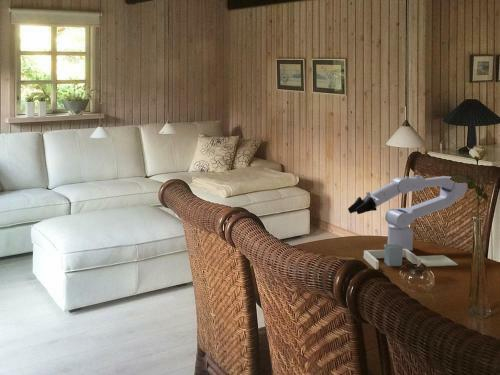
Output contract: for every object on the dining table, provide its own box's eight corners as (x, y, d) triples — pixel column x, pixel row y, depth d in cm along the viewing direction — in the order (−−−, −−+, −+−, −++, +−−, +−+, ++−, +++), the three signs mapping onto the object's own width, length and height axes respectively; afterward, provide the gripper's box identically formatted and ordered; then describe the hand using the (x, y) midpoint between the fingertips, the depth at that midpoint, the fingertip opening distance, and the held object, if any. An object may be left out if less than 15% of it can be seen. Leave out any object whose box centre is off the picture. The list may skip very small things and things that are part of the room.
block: (396, 261, 227) (397, 243, 226) (401, 265, 223) (402, 247, 221) (384, 262, 227) (384, 244, 225) (388, 266, 222) (389, 247, 221)
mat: (443, 255, 234) (443, 255, 234) (458, 265, 223) (458, 264, 223) (413, 257, 233) (413, 256, 233) (426, 266, 221) (426, 265, 221)
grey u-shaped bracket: (406, 256, 234) (406, 248, 233) (420, 267, 220) (421, 259, 220) (363, 258, 232) (363, 250, 231) (375, 269, 218) (376, 261, 218)
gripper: (369, 186, 246) (341, 201, 243) (385, 186, 232) (356, 202, 229) (377, 202, 246) (349, 217, 244) (393, 203, 232) (363, 219, 230)
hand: (352, 211), depth 236 cm, fingers open, 7 cm apart
